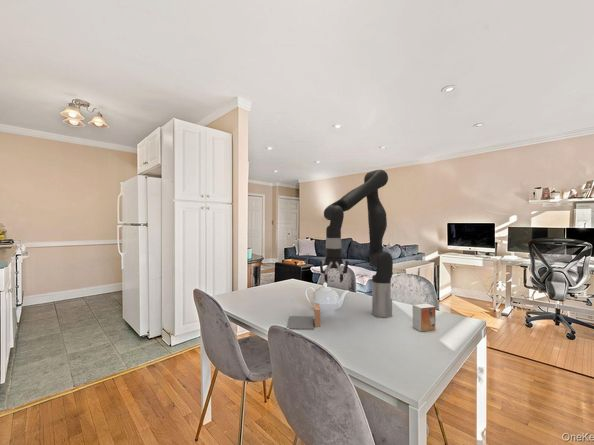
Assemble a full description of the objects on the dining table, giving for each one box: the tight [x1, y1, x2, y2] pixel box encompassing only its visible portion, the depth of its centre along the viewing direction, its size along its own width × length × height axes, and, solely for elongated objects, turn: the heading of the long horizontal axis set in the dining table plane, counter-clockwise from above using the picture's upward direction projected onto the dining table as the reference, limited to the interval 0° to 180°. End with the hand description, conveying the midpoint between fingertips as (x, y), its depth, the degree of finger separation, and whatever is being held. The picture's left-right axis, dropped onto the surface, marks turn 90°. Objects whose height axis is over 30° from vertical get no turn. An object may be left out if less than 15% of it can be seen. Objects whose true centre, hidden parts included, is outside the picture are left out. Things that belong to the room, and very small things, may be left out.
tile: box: [313, 303, 321, 328], centre depth 128 cm, size 2×10×8 cm, turn 178°
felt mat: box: [286, 315, 315, 330], centre depth 128 cm, size 12×16×1 cm
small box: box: [412, 303, 436, 333], centre depth 120 cm, size 8×6×10 cm
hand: (333, 281), depth 128 cm, fingers open, 6 cm apart
